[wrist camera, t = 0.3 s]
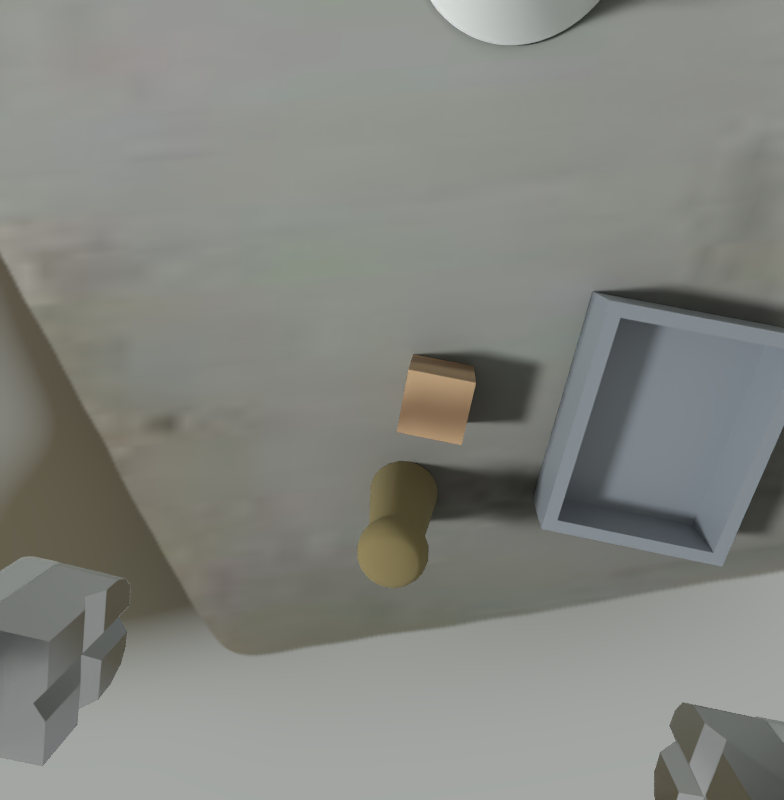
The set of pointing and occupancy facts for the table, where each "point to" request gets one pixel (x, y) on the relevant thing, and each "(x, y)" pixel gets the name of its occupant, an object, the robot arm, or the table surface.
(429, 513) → the cork
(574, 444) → the tote
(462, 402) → the tan cube
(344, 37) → the table surface
